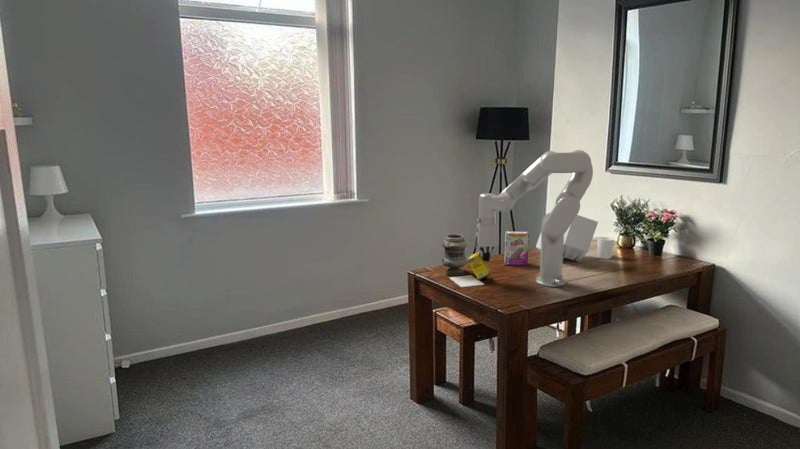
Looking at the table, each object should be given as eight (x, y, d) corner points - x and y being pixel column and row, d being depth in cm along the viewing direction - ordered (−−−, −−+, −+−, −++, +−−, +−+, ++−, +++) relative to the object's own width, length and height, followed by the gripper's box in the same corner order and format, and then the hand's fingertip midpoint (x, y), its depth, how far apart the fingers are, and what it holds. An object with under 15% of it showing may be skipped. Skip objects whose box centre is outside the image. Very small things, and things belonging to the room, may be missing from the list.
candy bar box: (505, 265, 267) (506, 233, 263) (504, 262, 272) (505, 231, 268) (528, 265, 266) (529, 233, 262) (526, 263, 271) (527, 231, 267)
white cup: (593, 256, 281) (594, 237, 279) (604, 254, 284) (605, 236, 282) (604, 260, 274) (605, 241, 272) (616, 258, 277) (617, 239, 275)
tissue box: (532, 252, 280) (547, 206, 278) (555, 259, 286) (570, 214, 284) (557, 262, 261) (574, 213, 259) (581, 269, 268) (598, 221, 266)
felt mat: (484, 284, 238) (484, 284, 238) (461, 287, 235) (461, 286, 235) (471, 275, 251) (471, 275, 251) (449, 278, 248) (449, 277, 248)
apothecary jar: (447, 277, 250) (447, 239, 246) (438, 270, 261) (438, 233, 258) (471, 274, 253) (471, 237, 249) (461, 267, 264) (461, 232, 261)
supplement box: (490, 275, 242) (478, 254, 241) (478, 281, 243) (466, 260, 242) (490, 271, 248) (479, 251, 247) (479, 277, 249) (467, 256, 248)
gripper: (475, 223, 235) (474, 264, 238) (506, 221, 239) (504, 261, 243) (468, 220, 242) (467, 260, 246) (498, 218, 246) (497, 257, 250)
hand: (486, 260), depth 244 cm, fingers closed
